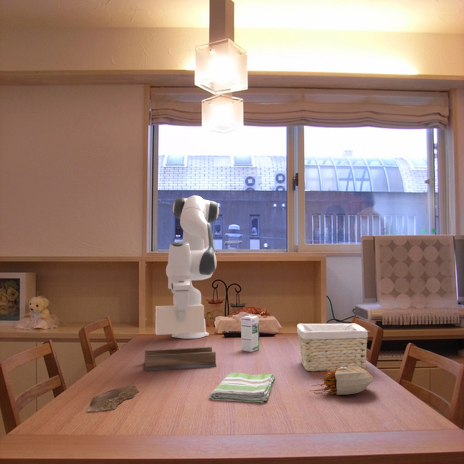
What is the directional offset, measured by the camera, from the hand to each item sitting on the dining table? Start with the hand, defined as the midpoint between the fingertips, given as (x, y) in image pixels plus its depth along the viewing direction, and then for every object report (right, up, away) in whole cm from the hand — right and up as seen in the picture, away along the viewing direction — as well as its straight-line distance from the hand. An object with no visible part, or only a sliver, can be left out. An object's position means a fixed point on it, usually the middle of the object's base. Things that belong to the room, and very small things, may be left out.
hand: (180, 320), depth 165 cm
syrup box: (+28, -18, +23) cm, 40 cm away
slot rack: (0, -17, -1) cm, 17 cm away
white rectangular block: (0, -5, 0) cm, 5 cm away
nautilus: (+53, -15, -33) cm, 64 cm away
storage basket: (+57, -17, -4) cm, 60 cm away
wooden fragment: (-15, -16, -36) cm, 43 cm away
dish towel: (+24, -16, -30) cm, 41 cm away
